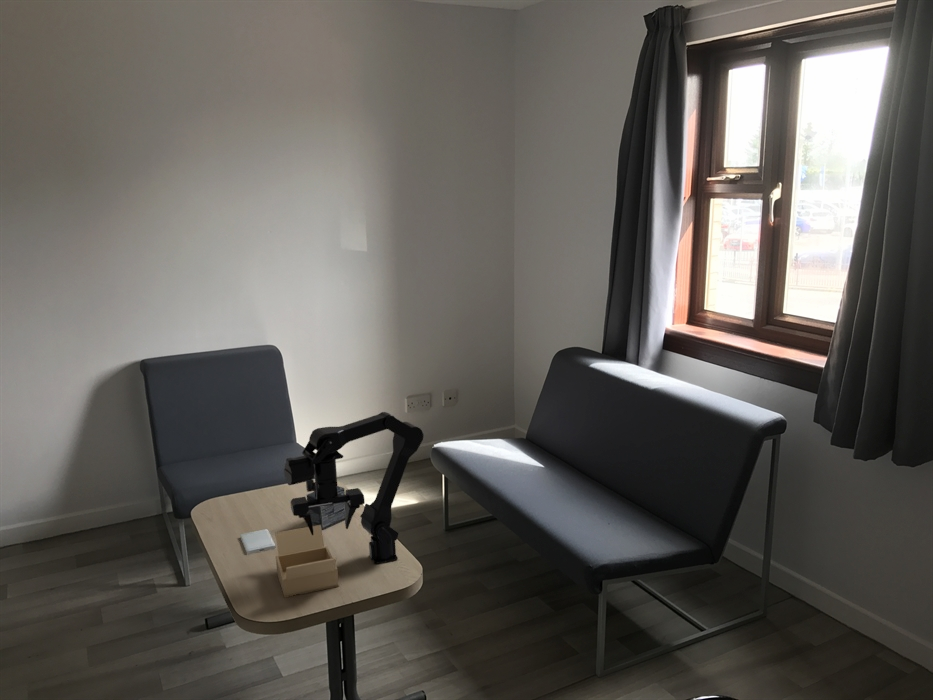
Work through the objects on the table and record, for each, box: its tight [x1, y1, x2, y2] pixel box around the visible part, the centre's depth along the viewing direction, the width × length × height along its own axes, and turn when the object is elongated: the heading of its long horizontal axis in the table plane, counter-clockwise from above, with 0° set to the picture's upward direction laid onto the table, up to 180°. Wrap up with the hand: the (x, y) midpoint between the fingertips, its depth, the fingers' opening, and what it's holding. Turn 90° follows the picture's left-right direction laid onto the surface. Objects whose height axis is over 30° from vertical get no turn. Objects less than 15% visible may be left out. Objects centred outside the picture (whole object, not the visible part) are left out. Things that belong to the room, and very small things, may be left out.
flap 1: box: [275, 525, 325, 556], centre depth 215 cm, size 12×6×1 cm
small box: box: [306, 485, 346, 531], centre depth 242 cm, size 11×6×10 cm, turn 141°
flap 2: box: [286, 557, 337, 580], centre depth 198 cm, size 12×6×1 cm
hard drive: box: [240, 528, 277, 555], centre depth 230 cm, size 2×8×12 cm
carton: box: [275, 546, 340, 598], centre depth 207 cm, size 14×14×5 cm
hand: (329, 531), depth 209 cm, fingers open, 9 cm apart
